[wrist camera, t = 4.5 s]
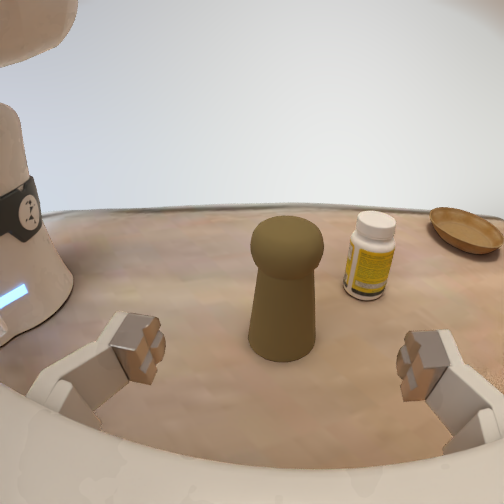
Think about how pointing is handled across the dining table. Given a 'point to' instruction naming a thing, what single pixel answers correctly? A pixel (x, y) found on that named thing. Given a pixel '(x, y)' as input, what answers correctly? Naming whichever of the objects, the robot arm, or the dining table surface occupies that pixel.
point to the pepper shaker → (284, 287)
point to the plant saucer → (466, 230)
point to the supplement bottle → (370, 255)
